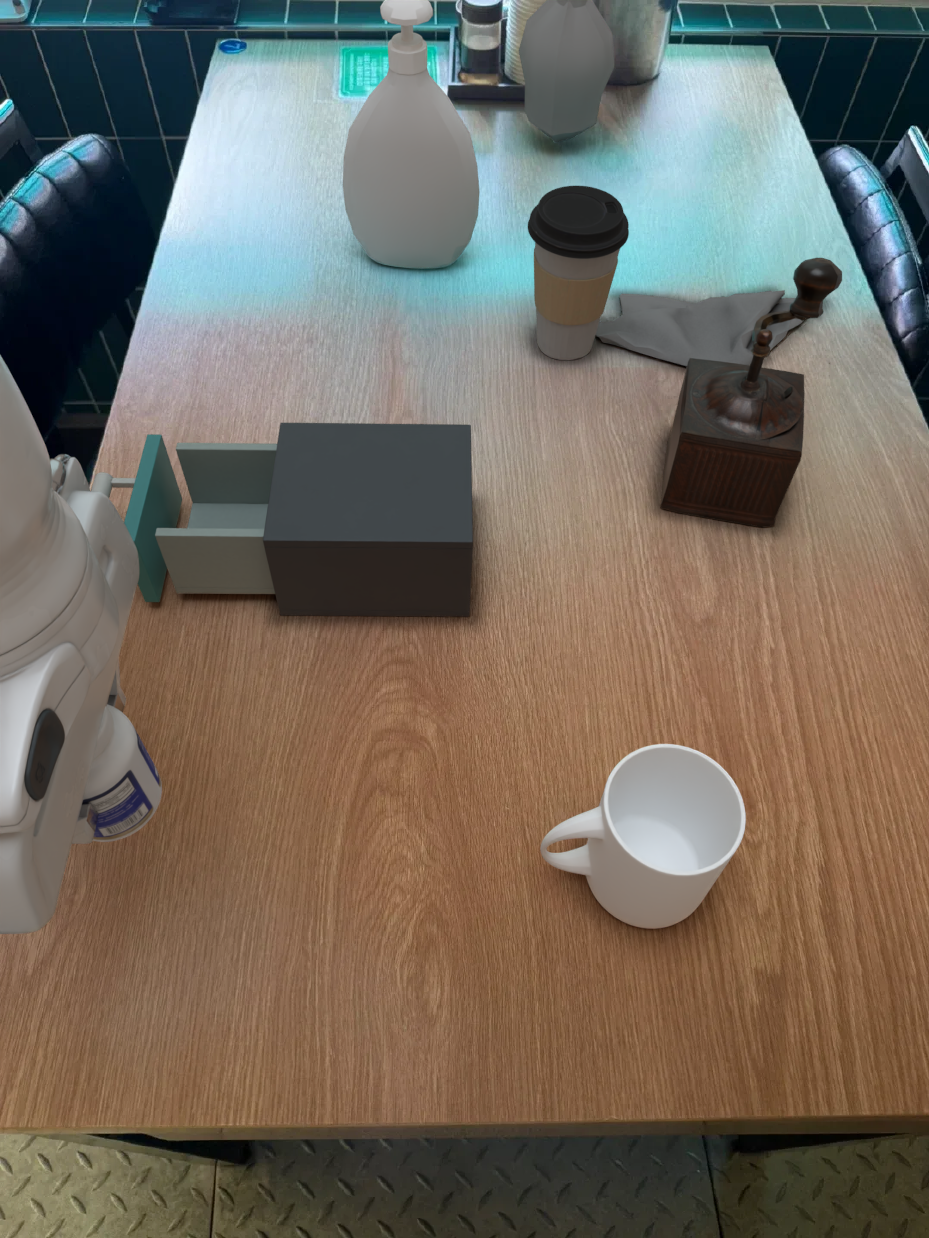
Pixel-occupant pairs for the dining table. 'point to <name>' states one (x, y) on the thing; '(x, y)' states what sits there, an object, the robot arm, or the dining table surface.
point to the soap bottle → (410, 159)
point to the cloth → (695, 326)
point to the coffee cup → (574, 265)
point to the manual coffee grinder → (743, 422)
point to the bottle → (565, 66)
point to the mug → (655, 835)
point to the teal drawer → (200, 517)
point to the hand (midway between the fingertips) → (94, 770)
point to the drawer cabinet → (371, 520)
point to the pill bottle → (121, 779)
